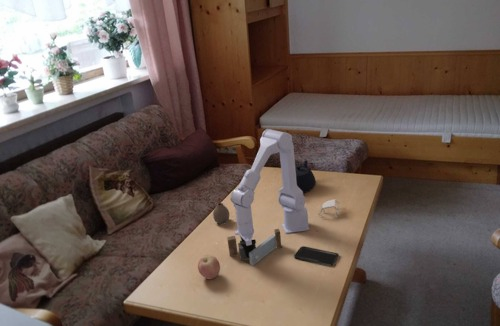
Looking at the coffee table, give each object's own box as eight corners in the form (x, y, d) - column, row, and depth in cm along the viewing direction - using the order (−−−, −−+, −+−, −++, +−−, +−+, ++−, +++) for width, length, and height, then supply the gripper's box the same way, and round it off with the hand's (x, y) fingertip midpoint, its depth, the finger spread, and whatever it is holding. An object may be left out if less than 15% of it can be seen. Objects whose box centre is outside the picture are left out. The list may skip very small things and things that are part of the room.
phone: (301, 245, 174) (339, 253, 167) (301, 248, 174) (339, 256, 167) (293, 256, 168) (332, 265, 160) (293, 259, 168) (332, 268, 161)
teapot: (308, 201, 208) (307, 177, 204) (276, 198, 214) (274, 174, 210) (322, 179, 229) (321, 156, 225) (292, 176, 235) (291, 154, 231)
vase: (228, 226, 194) (225, 207, 191) (212, 226, 196) (209, 207, 192) (231, 218, 200) (229, 200, 197) (216, 218, 202) (214, 200, 199)
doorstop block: (255, 251, 174) (253, 240, 173) (256, 257, 171) (255, 246, 169) (239, 254, 174) (238, 243, 172) (240, 260, 170) (239, 248, 168)
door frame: (280, 244, 177) (278, 228, 175) (281, 247, 175) (280, 231, 173) (229, 252, 175) (227, 237, 173) (229, 256, 173) (227, 240, 170)
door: (273, 246, 176) (272, 235, 174) (278, 248, 175) (277, 236, 173) (250, 264, 166) (248, 252, 165) (254, 266, 165) (253, 254, 163)
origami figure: (336, 221, 190) (336, 210, 188) (317, 218, 194) (316, 208, 192) (345, 208, 199) (345, 198, 198) (326, 205, 203) (326, 195, 201)
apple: (196, 274, 164) (193, 255, 161) (216, 267, 167) (214, 249, 164) (203, 286, 158) (200, 266, 155) (224, 279, 160) (221, 260, 157)
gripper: (231, 212, 173) (235, 243, 178) (236, 231, 159) (240, 264, 165) (249, 209, 174) (253, 240, 179) (256, 228, 160) (259, 261, 165)
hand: (248, 251), depth 172 cm, fingers open, 6 cm apart
